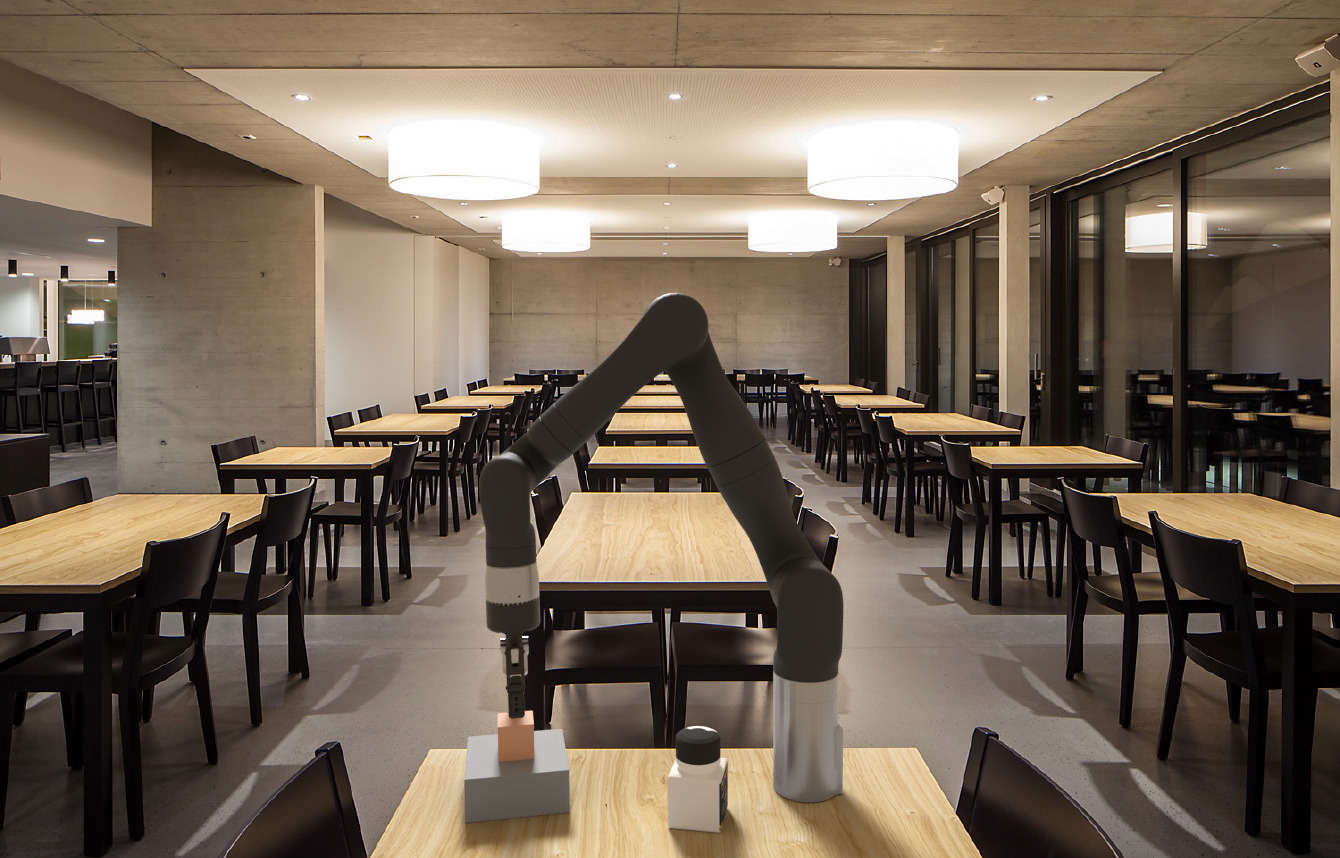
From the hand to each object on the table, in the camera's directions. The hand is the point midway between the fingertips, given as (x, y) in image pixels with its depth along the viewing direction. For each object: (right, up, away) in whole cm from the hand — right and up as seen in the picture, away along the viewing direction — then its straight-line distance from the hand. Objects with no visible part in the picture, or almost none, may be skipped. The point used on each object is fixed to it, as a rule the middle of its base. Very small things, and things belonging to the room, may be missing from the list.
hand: (516, 705), depth 125 cm
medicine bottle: (+26, -13, -6) cm, 30 cm away
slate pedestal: (0, -13, +1) cm, 13 cm away
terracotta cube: (0, -7, 0) cm, 7 cm away
